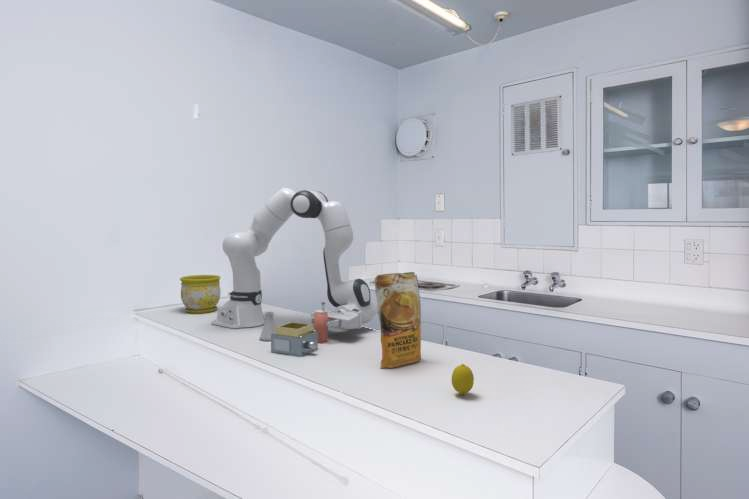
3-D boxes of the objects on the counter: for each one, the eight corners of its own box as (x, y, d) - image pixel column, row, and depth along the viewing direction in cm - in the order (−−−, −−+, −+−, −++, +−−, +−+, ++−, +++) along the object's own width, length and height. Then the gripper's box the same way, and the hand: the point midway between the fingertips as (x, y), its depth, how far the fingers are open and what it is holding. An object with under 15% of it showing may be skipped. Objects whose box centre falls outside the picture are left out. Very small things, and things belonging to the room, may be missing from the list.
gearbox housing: (270, 352, 156) (270, 327, 156) (288, 344, 166) (288, 321, 165) (309, 358, 150) (309, 331, 150) (325, 349, 160) (325, 325, 159)
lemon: (477, 394, 120) (478, 363, 119) (466, 400, 116) (466, 368, 115) (458, 389, 123) (459, 359, 123) (447, 395, 119) (447, 364, 119)
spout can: (311, 342, 169) (311, 302, 168) (318, 339, 174) (318, 300, 173) (323, 343, 167) (323, 303, 166) (330, 340, 172) (330, 301, 171)
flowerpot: (228, 308, 231) (228, 275, 230) (204, 316, 213) (204, 280, 212) (197, 306, 236) (197, 274, 235) (172, 313, 219) (171, 278, 218)
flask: (274, 342, 169) (274, 314, 169) (255, 340, 171) (255, 313, 170) (282, 337, 176) (282, 310, 176) (264, 336, 178) (264, 310, 177)
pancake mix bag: (367, 365, 143) (368, 274, 141) (415, 355, 154) (415, 270, 152) (381, 371, 137) (382, 276, 135) (429, 360, 149) (430, 272, 147)
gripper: (325, 305, 187) (299, 310, 176) (365, 311, 174) (339, 317, 163) (325, 320, 187) (299, 326, 176) (364, 328, 174) (339, 335, 163)
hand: (319, 322), depth 169 cm, fingers open, 7 cm apart
